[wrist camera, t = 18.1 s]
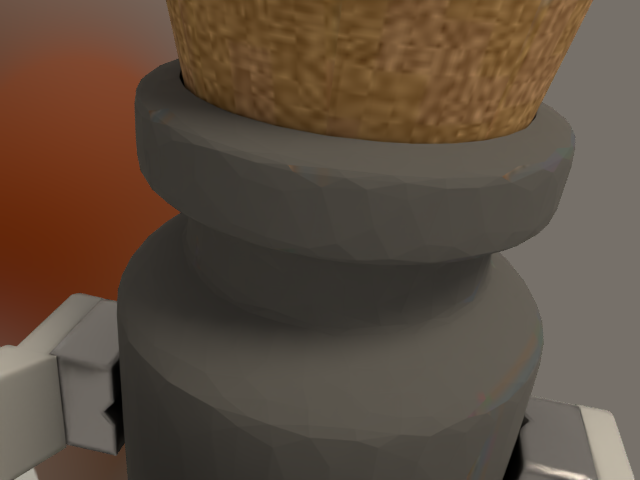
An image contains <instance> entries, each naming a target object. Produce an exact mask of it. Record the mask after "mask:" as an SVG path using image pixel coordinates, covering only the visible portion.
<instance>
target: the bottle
mask: <svg viewBox="0 0 640 480" xmlns="http://www.w3.org/2000/svg"><path fill="white" fill-rule="evenodd" d="M592 1H593V0H166V2H167V6H168V11H169V16H170V21H171V25H172V29H173V34H174V39H175V44H176V48H177V53H178V57H179V59H176V60H174V61H171V62H168V63H165V64H163V65H160V66H159V67H157V68H156V69H154V70H153V71H151V72H150V73H149V74H147V75H146V76H145V77H144V78H142V79H141V81H140V83H139V85H138V87H137V89H136V97H135V127H136V144H137V155H138V160H139V165H140V170H141V172H142V174H143V175H144V177H145V178H146V180H147V182H148V183H149V185H150V187H151V188H152V190H154V191H155V192H156V193H157V194H158V195H159V196H161V197H162V198H163V199H164V200H165V201H166V202H167V203H169V204H170V205H172V206H173V207H174V208H175V209H177V210H178V211H180V212H181V213H180V214H178V215H177V216H175V217H173V218H172V219H170V220H169V221H167V222H166V223H165V224H163V225H162V226H161V227H160V228H159V229H157V230H156V231H155V232H153V233H152V234H151V235H150V236H149V237H148V238H147V239H146V240H145V241H144V243H143V244H142V245H141V246H140V247H139V248H138V250H137V251H136V252H135V253H134V254H133V256H132V258H131V259H130V261H129V263H128V265H127V267H126V269H125V271H124V273H123V275H122V278H121V281H120V285H119V288H118V299H117V328H118V344H119V360H120V376H121V392H122V408H123V423H124V436H125V448H126V461H127V474H128V480H503V477H504V474H505V471H506V468H507V465H508V462H509V460H510V457H511V454H512V451H513V448H514V445H515V442H516V439H517V436H518V433H519V430H520V427H521V424H522V421H523V418H524V415H525V412H526V408H527V405H528V402H529V399H530V395H531V392H532V389H533V385H534V382H535V378H536V375H537V372H538V369H539V366H540V360H541V355H542V349H543V328H542V320H541V316H540V313H539V310H538V307H537V304H536V302H535V300H534V298H533V297H532V295H531V293H530V291H529V289H528V287H527V285H526V284H525V282H524V280H523V279H522V278H521V277H520V275H519V274H518V273H517V272H516V270H515V269H514V268H513V266H512V265H511V264H510V263H509V262H508V260H507V259H506V258H505V257H503V256H502V255H501V254H500V253H499V252H500V251H503V250H506V249H509V248H512V247H515V246H517V245H519V244H521V243H523V242H525V241H526V240H528V239H530V238H531V237H533V236H535V235H537V234H538V233H539V232H540V231H541V230H542V229H544V228H545V226H547V225H548V224H549V222H550V220H551V219H552V217H553V215H554V213H555V212H556V210H557V207H558V204H559V201H560V199H561V196H562V193H563V190H564V187H565V184H566V181H567V178H568V175H569V172H570V169H571V165H572V161H573V156H574V150H575V135H574V133H573V130H572V128H571V126H570V125H569V123H568V122H567V121H566V119H565V118H564V117H563V116H561V115H560V114H559V113H558V112H556V111H555V110H554V109H553V108H551V107H550V106H548V105H546V104H544V103H543V102H542V100H543V98H544V96H545V94H546V92H547V90H548V88H549V86H550V84H551V82H552V80H553V78H554V76H555V74H556V73H557V70H558V69H559V67H560V65H561V63H562V61H563V59H564V57H565V55H566V53H567V51H568V49H569V47H570V45H571V43H572V41H573V39H574V37H575V35H576V33H577V31H578V29H579V27H580V25H581V23H582V21H583V19H584V17H585V15H586V13H587V11H588V9H589V7H590V5H591V3H592Z"/></svg>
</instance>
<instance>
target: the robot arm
mask: <svg viewBox="0 0 640 480" xmlns="http://www.w3.org/2000/svg"><path fill="white" fill-rule="evenodd" d="M124 443H125V436H124V423H123V408H122V392H121V376H120V360H119V344H118V328H117V301H113V300H109V299H102V298H99V297H95V296H90V295H87V294H82V293H77V294H73V295H71V296H70V297H69V298H68V299H67V300H66V301H65V302H64V303H63V304H61V306H59V307H58V308H57V309H56V310H55V311H54V312H53V313H52V314H51V315H50V316H49V317H48V318H47V319H46V320H44V321H43V322H42V323H41V324H40V325H39V326H38V327H37V328H36V329H35V330H34V331H33V332H32V333H31V334H30V335H28V336H27V337H26V338H25V339H24V340H23V341H22V342H21V343H20V344H19V345H18V346H17V347H15V346H11V345H6V346H3V347H0V480H14V479H15V478H17V477H19V476H20V475H22V474H24V473H25V472H27V471H29V470H30V469H32V468H33V467H35V466H37V465H38V464H40V463H42V462H43V461H45V460H46V459H48V458H50V457H51V456H53V455H55V454H56V453H58V452H59V451H61V450H63V449H64V448H66V444H67V445H72V446H76V447H80V448H85V449H89V450H94V451H98V452H103V453H107V454H112V455H117V454H118V452H119V451H120V449H121V447H122V446H123V445H124ZM503 480H635V479H634V476H633V473H632V470H631V467H630V464H629V461H628V458H627V455H626V452H625V449H624V446H623V443H622V440H621V437H620V434H619V431H618V428H617V425H616V422H615V419H614V416H613V415H612V414H611V413H610V412H609V411H606V410H602V409H597V408H592V407H587V406H582V405H572V404H568V403H563V402H558V401H554V400H549V399H545V398H540V397H535V396H531V395H530V399H529V402H528V405H527V408H526V412H525V415H524V418H523V421H522V424H521V427H520V430H519V433H518V436H517V439H516V442H515V445H514V448H513V451H512V454H511V457H510V460H509V462H508V465H507V468H506V471H505V474H504V477H503Z"/></svg>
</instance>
